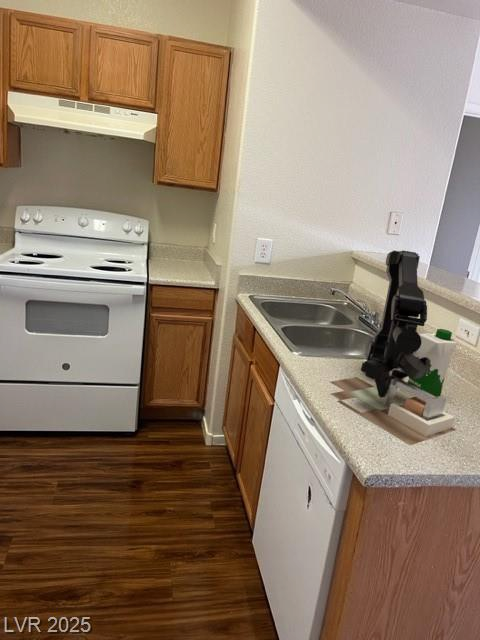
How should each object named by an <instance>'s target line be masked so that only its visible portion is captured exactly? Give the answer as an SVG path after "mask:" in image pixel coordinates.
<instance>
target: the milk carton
mask: <svg viewBox="0 0 480 640" xmlns="http://www.w3.org/2000/svg"><path fill="white" fill-rule="evenodd" d="M418 334H419V335H420V337H421V342H422V343H421V346H420V348H419V349H418V350H417V351H416V352H415V355H414V356H415V357H419V359H420V358H423V357H427V358H429V359H430V360H431V361H430V368H429V372H425V373H424V375H423V376H422V377H421V378H416V379H411V378H409V377H408V379H407V383H409V384H411V385H413V386H415V387H417V388H419V389H421V390H423V391H425V392H427V393H429V394H431V395H433V396H435V397H439V396H442V391H443V385H444V382H445V378H446V375H447V373H448V372H447V371H448V368H449V366H450V361H451V358H452V356H453V354H454V351H455V349H456V348H457V345H458V342H457V341H455V340H453V339H452V335H453V332H452V331H450V330H448V329H444V328H437V330H436V333H427V332H424V333H418Z"/></svg>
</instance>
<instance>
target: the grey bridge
mask: <svg viewBox="0 0 480 640" xmlns="http://www.w3.org/2000/svg"><path fill="white" fill-rule="evenodd" d="M391 376H393V377H395V378H394V379H392V380H390V381H389V383H388V386H387V389H386V392H385V394H384V396H383V398H381V397H379V394H378V395H377V399H376V401H378V402H380V403H381V404H383V405H389V404H392V403H393V399H394V397H395V395H396V391H397V389H400V390H402V391H404V392H406V393H408V394H410V395H412V396H413V397H418V398H420V399H422V400H424V401H426V405H425V408H424V412H423V416H422V419H424V420H426V421H429V420H432V419H436V418H439V417H442V413H443V411H444V410H445V405H446V403H447V399H448V398H447V397H444V396H442V395H441V396H439V397H435V396H433V395H431V394H429V393H427V392H425V391H423V390H421V389H419V388H417V387H415V386H413V385H411V384H409V383H407V382H408V381H407V382H406V381H405V380H404V379H403V380H401V379H399V378H398V377H396V376H394V375H392V374H391ZM396 387H398V388H397V389H396Z"/></svg>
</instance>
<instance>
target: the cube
mask: <svg viewBox="0 0 480 640" xmlns="http://www.w3.org/2000/svg"><path fill="white" fill-rule="evenodd" d="M404 402H405V406H404V409H406V410H408V411H410V412H411V413H413V414H415V415H417V416H419V417H421V418H422V416H423V412H424V408H425V405H426V401H424V400H422V399H420V398H418V397H416V396H412V397H407V398H406V400H405V401H404Z"/></svg>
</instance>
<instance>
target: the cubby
mask: <svg viewBox="0 0 480 640" xmlns="http://www.w3.org/2000/svg"><path fill="white" fill-rule="evenodd" d="M388 415H389V416H390V417H392V418H394V419H396V420H397V421H399V422H401V423H403V424H405V425H406V426H408V427H410V428H412V429H413V430H415V431H417V432H419V433H420V434H422V435H424V436H429V435H432V434H435V433H438V432H441V431H444V430H447V429H451V428H453V425H454V422H455V418H456V417H455V416H453V415H452V414H449V413H447V412H446V411H444V410H443V413H442V417H439V418H436V419H432V420H429V421H426V420H424V419H422V418H421V417H419V416H417V415H415V414H413V413H411V412H410V411H408V410H406V409H404V408H402V407H400V406H398V405H397V404H395V403H393V404H390V408H389V412H388Z"/></svg>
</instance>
